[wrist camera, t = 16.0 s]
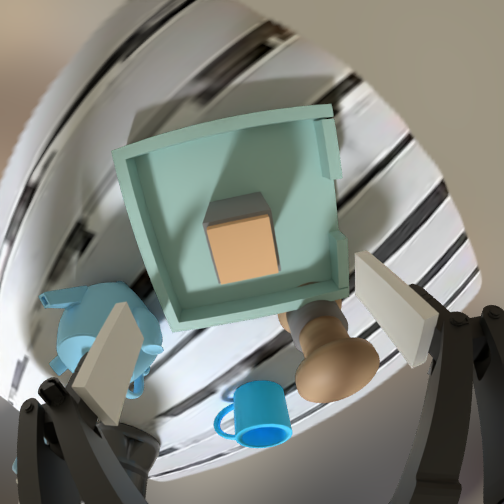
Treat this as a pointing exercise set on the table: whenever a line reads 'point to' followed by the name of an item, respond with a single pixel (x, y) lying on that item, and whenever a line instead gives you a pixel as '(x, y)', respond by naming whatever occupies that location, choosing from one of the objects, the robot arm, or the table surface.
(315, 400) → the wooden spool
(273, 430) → the mug
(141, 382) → the teapot
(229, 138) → the pale green tray
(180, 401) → the table surface
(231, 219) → the gray and orange block
